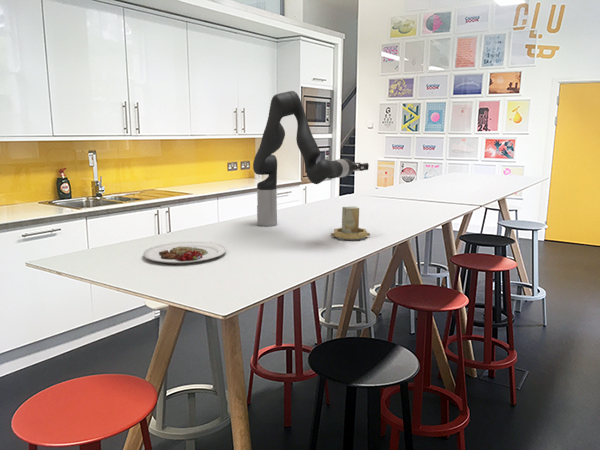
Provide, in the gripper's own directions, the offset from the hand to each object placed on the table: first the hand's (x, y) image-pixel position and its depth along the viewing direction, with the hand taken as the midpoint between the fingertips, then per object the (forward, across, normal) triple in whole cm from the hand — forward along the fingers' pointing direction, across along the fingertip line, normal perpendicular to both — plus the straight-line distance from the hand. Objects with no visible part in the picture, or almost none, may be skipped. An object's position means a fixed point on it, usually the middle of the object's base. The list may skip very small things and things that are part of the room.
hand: (358, 165), depth 223 cm
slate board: (-14, -4, +29) cm, 33 cm away
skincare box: (-15, -4, +29) cm, 33 cm away
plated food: (-73, +34, +30) cm, 86 cm away
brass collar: (-14, -4, +29) cm, 33 cm away
